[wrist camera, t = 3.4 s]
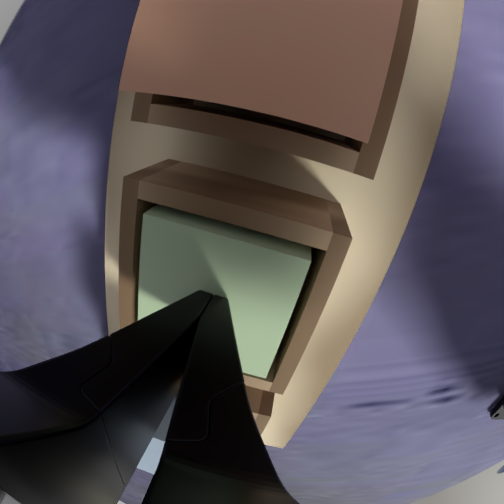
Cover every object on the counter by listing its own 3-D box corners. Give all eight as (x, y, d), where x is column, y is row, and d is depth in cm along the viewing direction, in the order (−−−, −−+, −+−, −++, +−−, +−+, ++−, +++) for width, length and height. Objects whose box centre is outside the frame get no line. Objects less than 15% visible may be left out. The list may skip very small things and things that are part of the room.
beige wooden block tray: (444, 12, 8) (505, -25, 3) (286, 424, 18) (277, 488, 14) (182, -45, 8) (127, -97, 4) (128, 374, 19) (95, 429, 14)
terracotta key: (380, -12, 5) (412, -62, 3) (345, 133, 7) (368, 143, 4) (218, -43, 5) (179, -95, 3) (179, 94, 7) (118, 90, 5)
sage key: (310, 220, 10) (311, 261, 8) (275, 323, 12) (265, 378, 9) (184, 186, 10) (143, 213, 8) (170, 291, 12) (137, 337, 10)
